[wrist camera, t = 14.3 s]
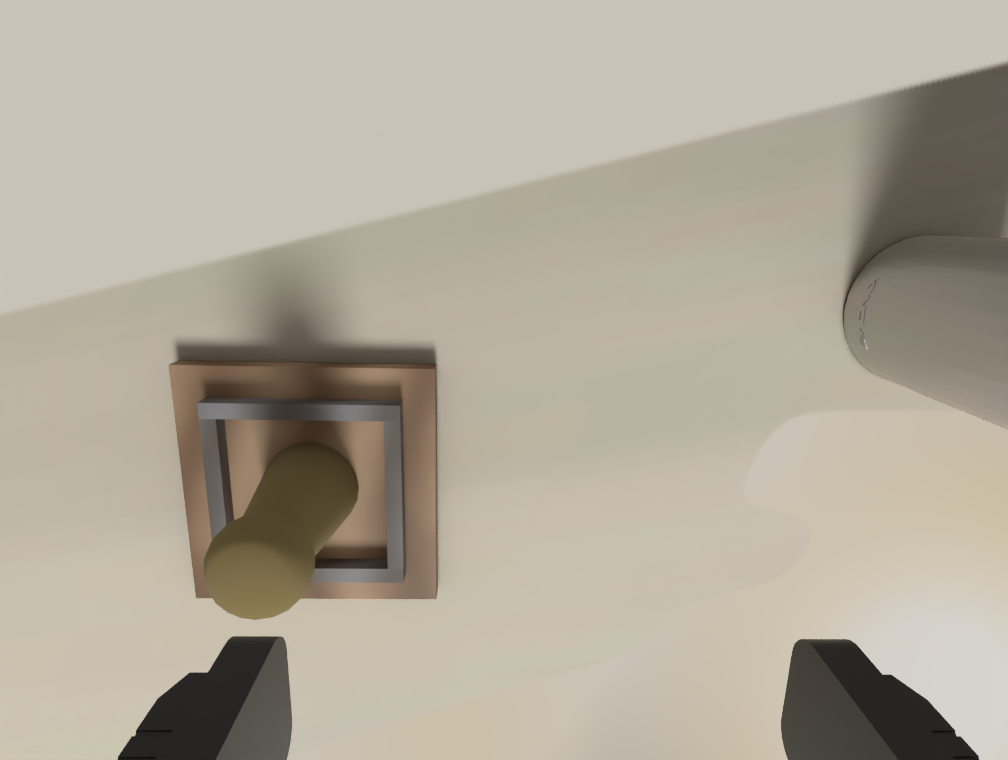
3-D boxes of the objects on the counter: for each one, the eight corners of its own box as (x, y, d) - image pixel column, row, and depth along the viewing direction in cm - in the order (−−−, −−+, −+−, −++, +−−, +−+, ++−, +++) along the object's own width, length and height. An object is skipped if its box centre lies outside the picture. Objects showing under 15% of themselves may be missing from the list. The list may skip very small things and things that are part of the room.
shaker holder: (436, 364, 39) (433, 373, 37) (437, 588, 43) (434, 609, 41) (178, 360, 39) (158, 369, 36) (203, 587, 43) (187, 608, 41)
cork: (254, 514, 40) (170, 621, 30) (275, 430, 39) (196, 511, 28) (345, 540, 41) (295, 654, 30) (370, 458, 40) (326, 547, 29)
